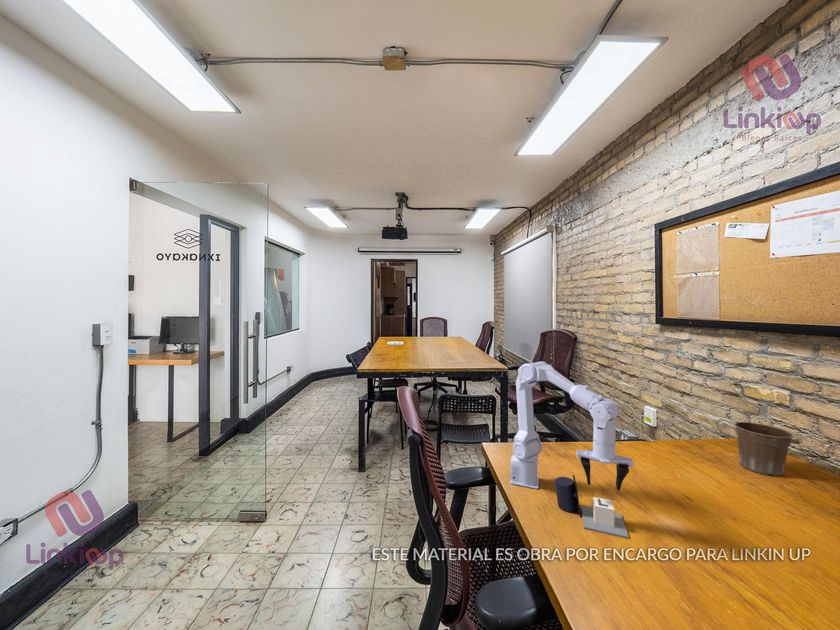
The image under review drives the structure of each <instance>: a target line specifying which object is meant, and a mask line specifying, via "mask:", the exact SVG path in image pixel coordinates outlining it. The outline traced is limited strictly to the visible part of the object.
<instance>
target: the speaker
mask: <svg viewBox="0 0 840 630" xmlns="http://www.w3.org/2000/svg"><path fill="white" fill-rule="evenodd" d="M572 478H573V479H572ZM572 478H570V477H566V476H559V477H557V478H555V480H554V486H555V492H556V499H557V501H556V502H557V506H558V508H559V509H560V510H561V511H564V512H571V513H572V512H574V511H576V510H578V516H579V518H582V511H581V505H580V500H579V494H578V486H577V481H576V476H575V474H572Z"/></svg>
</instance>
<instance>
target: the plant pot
mask: <svg viewBox="0 0 840 630" xmlns="http://www.w3.org/2000/svg"><path fill="white" fill-rule="evenodd" d="M734 427H735V430H736V431H735V433H736V436H737V445H738V455H739V456H738V457H739V458H738V459H739V460H738V461H739V465H741V466H742V467H743V468H745V469H747V470H748V471H751V472H754V473H757V474H761V475H765V476H769V475H771V476H773V477H781V476H784V473H785V467H786V462H787V458H788V457H787V456H788V451H789V448H790V447H791V444H792V443H791V442H792V439H793V438H794V437H795V435H794V434H793V433H791V432H790V431H787V430H785V429H781V428H779V427H775V426H772V425H767V424H761V423H755V422H748V421H747V422H744V421H739V422H738V421H737V422H734Z"/></svg>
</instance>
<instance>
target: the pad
mask: <svg viewBox="0 0 840 630" xmlns="http://www.w3.org/2000/svg"><path fill="white" fill-rule="evenodd" d="M580 512H581V518H582V523H583V529H585V530H589V531H593V532H598V533H602V534H605V535H610V534H611V536H614V535H615V537H618V536H620V537H619V538H623V537H624V538H623V539H627V538H629V539H630V537H629V534H628V533H629V532H628V531H627V527H626V525H625V523H624V518H623V517H622V513H619V512H614V527H611V526H607V525H602V524H598V523H594V518H593V507H590V506H585V505H580ZM625 537H626V538H625Z"/></svg>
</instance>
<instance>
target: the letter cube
mask: <svg viewBox="0 0 840 630" xmlns="http://www.w3.org/2000/svg"><path fill="white" fill-rule="evenodd" d="M592 508H593V518H594V523H598V524H602V525H607V526H611V527H614V513H615V507H614V503H613V501H612V500H611V499H605V498H601V497H595V496H592Z"/></svg>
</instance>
